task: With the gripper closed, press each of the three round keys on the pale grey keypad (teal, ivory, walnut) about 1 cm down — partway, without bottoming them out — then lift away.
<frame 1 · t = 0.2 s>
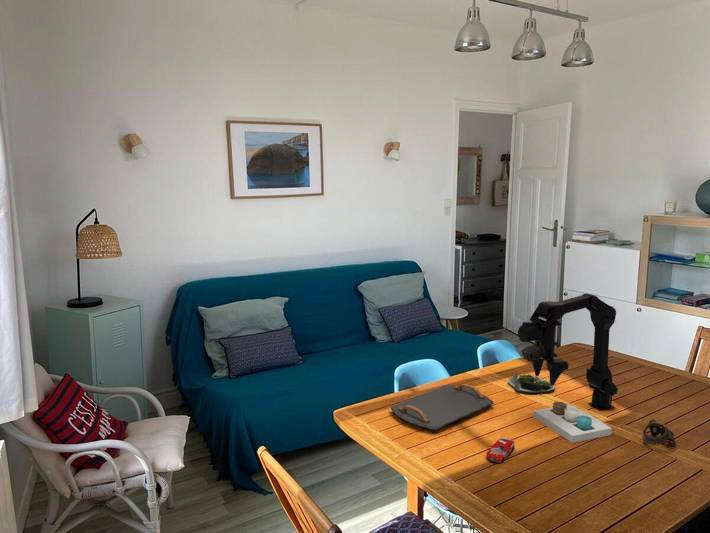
hand: (544, 380, 188), 14 cm above the table, tool pointing down, fingers open, 9 cm apart
race car: (500, 455, 167), on the table
key walnut: (559, 408, 190), point 4 cm above the table, slide at 0.0 cm
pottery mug: (657, 443, 173), on the table
key teal: (584, 423, 179), point 4 cm above the table, slide at 0.0 cm
salad plate: (530, 388, 219), on the table
serving board: (442, 412, 198), on the table
keypad: (570, 425, 185), on the table
key ivory: (571, 415, 185), point 4 cm above the table, slide at 0.0 cm
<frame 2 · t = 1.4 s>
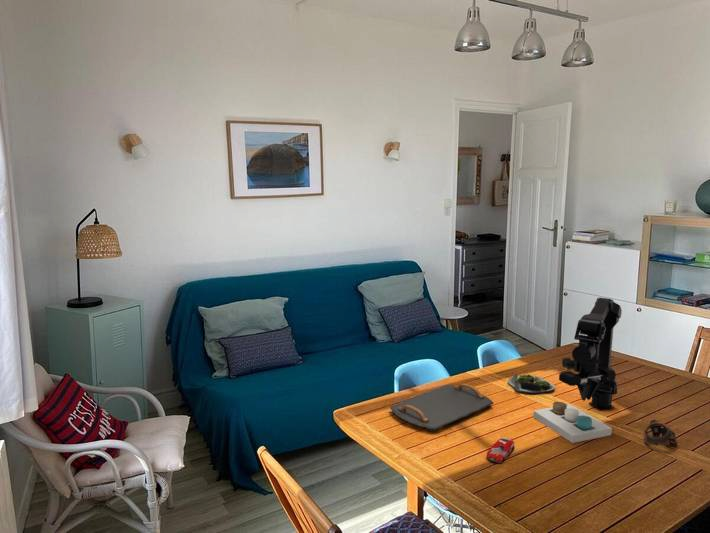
hand: (585, 399, 178), 12 cm above the table, tool pointing down, fingers closed
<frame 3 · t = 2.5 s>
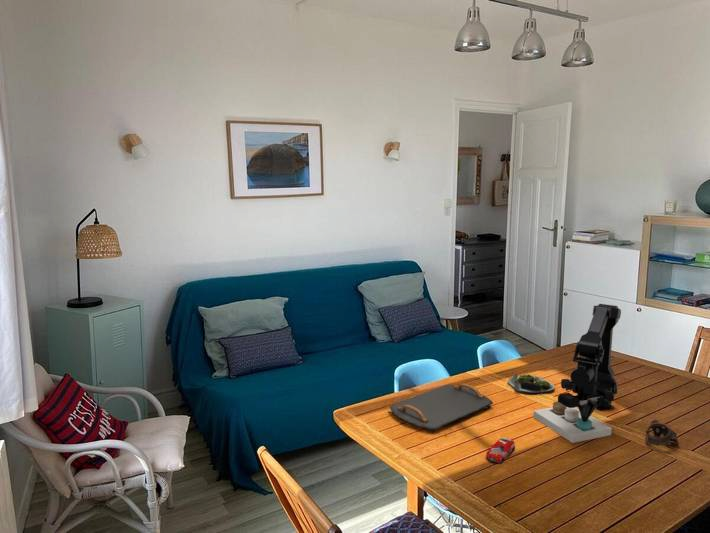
hand: (584, 421, 179), 4 cm above the table, tool pointing down, fingers closed, pressing on key teal
key teal: (583, 425, 179), point 3 cm above the table, slide at 0.9 cm, touching gripper
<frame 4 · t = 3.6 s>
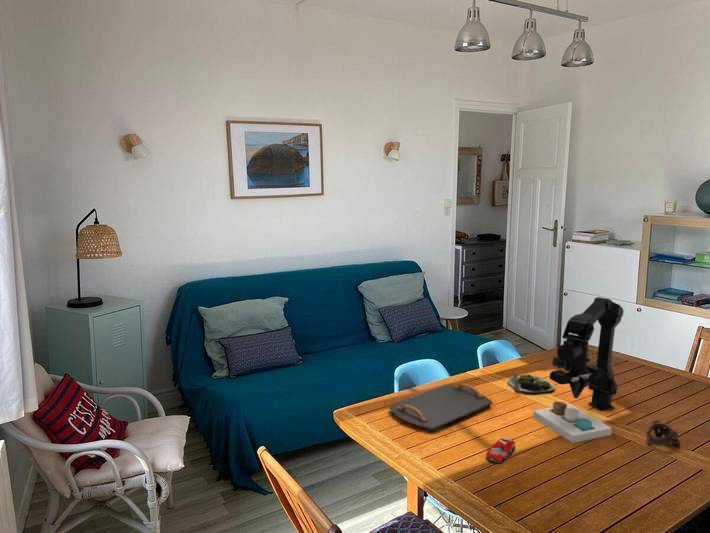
hand: (575, 397, 182), 11 cm above the table, tool pointing down, fingers closed
key teal: (583, 425, 179), point 3 cm above the table, slide at 1.0 cm
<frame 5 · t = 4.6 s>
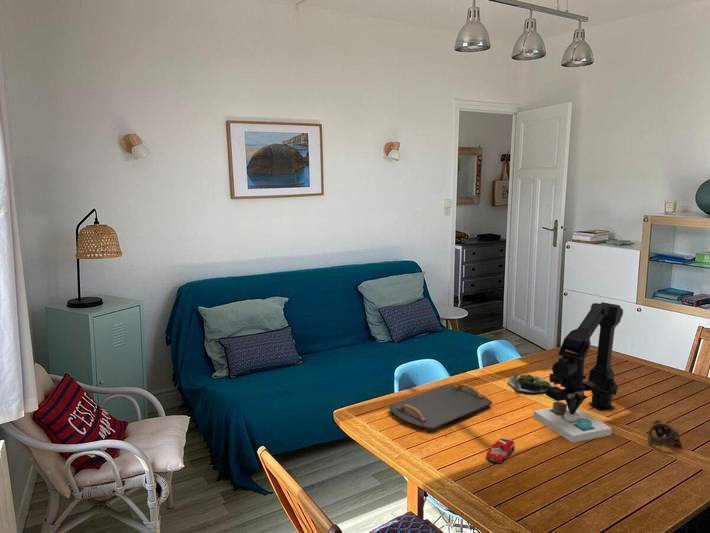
hand: (571, 414, 185), 4 cm above the table, tool pointing down, fingers closed, pressing on key ivory
key ivory: (571, 418, 185), point 3 cm above the table, slide at 1.0 cm, touching gripper
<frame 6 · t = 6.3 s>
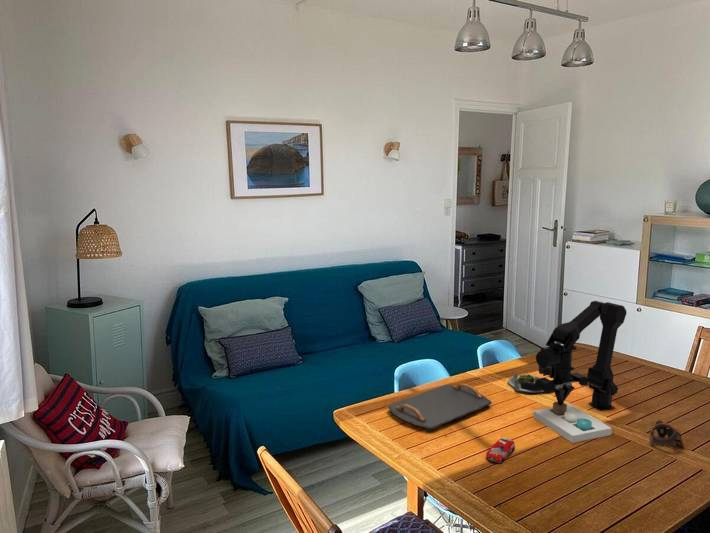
hand: (560, 404, 190), 5 cm above the table, tool pointing down, fingers closed, pressing on key walnut
key walnut: (559, 408, 190), point 4 cm above the table, slide at 0.1 cm, touching gripper
key ivory: (571, 418, 185), point 3 cm above the table, slide at 1.0 cm
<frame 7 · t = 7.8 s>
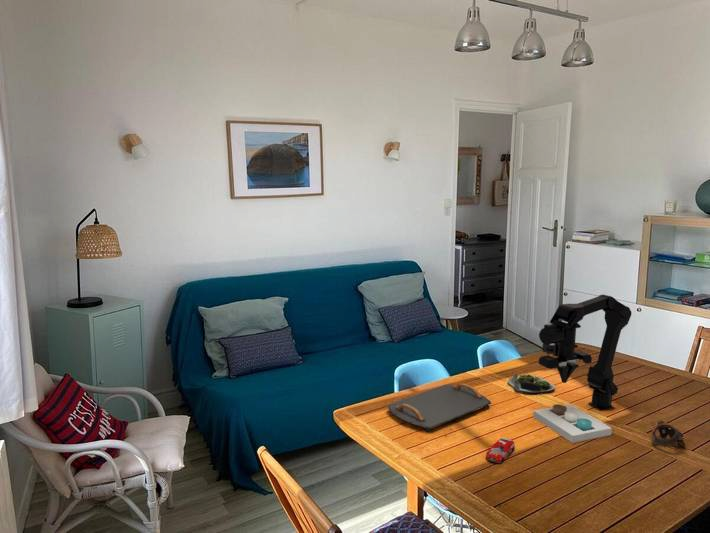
hand: (563, 382, 190), 13 cm above the table, tool pointing down, fingers closed
key walnut: (559, 411, 190), point 3 cm above the table, slide at 1.0 cm
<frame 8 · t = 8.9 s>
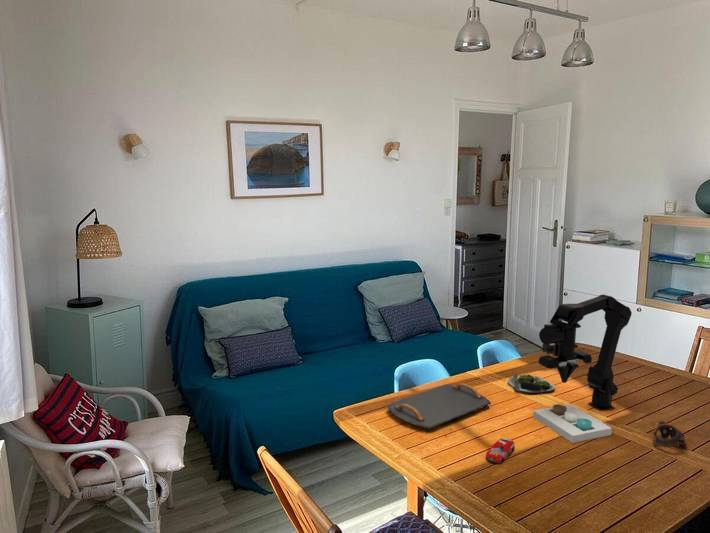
hand: (563, 382, 190), 13 cm above the table, tool pointing down, fingers closed
at the end: key teal slide at 1.0 cm; key ivory slide at 1.0 cm; key walnut slide at 1.0 cm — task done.
